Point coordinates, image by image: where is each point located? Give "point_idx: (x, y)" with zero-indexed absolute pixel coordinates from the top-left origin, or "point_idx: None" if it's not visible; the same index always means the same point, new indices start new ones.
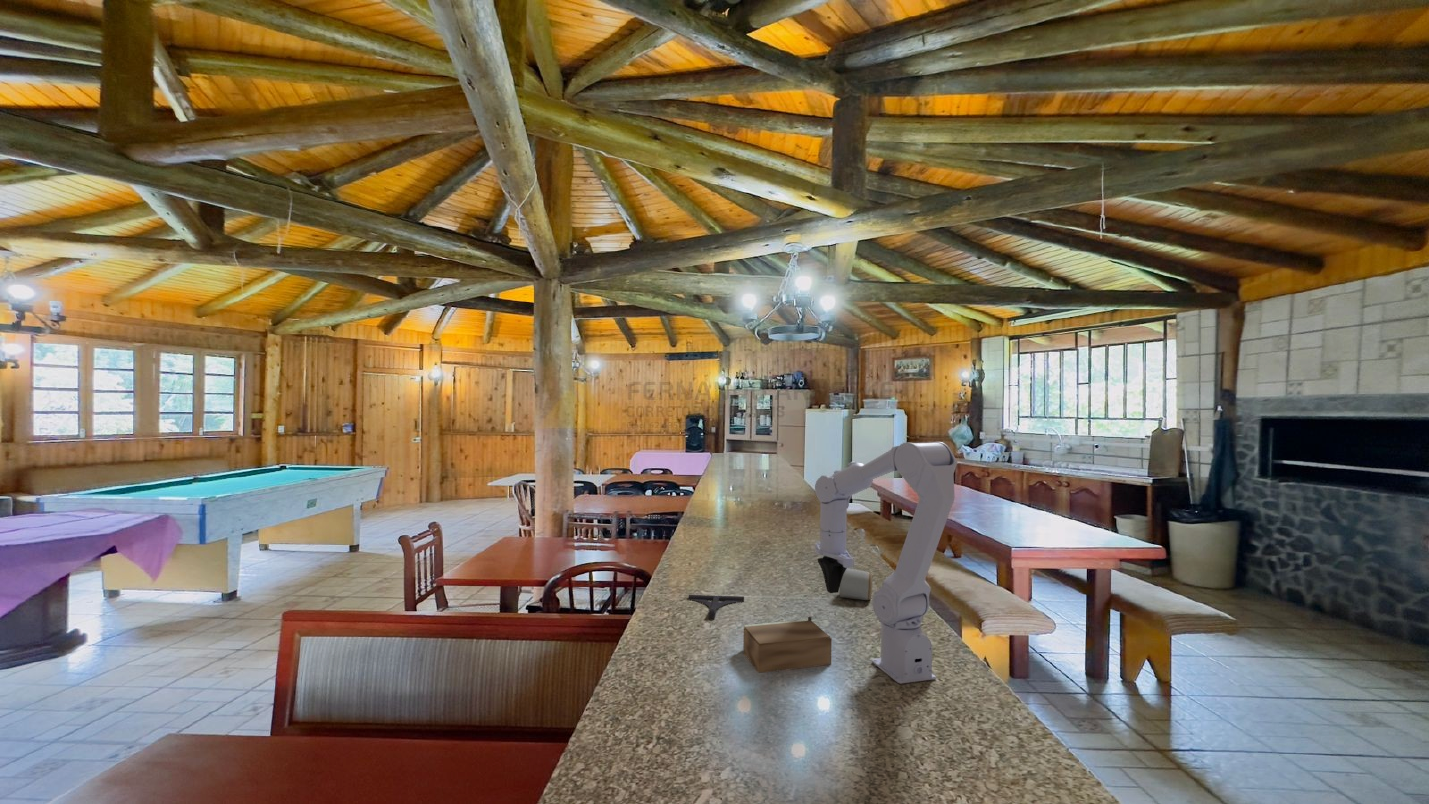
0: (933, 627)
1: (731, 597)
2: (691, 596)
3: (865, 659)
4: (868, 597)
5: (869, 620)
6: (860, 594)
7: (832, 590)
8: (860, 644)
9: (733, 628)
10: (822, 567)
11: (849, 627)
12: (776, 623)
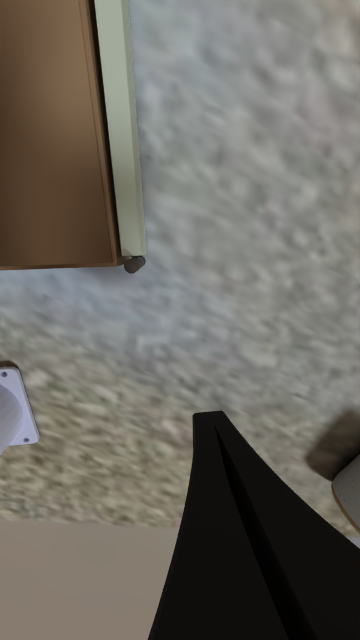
0: (177, 525)
1: None
2: None
3: (36, 359)
4: (332, 487)
5: None
6: (345, 481)
7: (193, 434)
8: (120, 381)
9: (319, 30)
10: (315, 568)
11: (216, 395)
12: (110, 77)
